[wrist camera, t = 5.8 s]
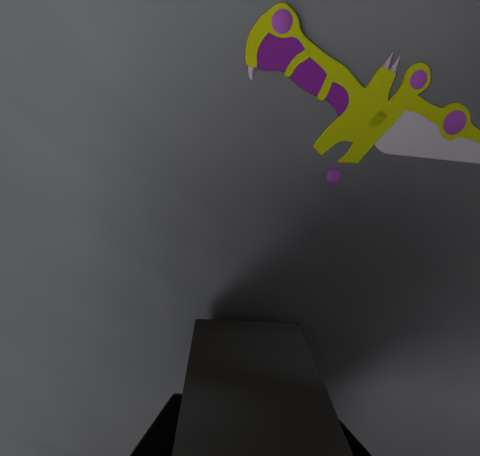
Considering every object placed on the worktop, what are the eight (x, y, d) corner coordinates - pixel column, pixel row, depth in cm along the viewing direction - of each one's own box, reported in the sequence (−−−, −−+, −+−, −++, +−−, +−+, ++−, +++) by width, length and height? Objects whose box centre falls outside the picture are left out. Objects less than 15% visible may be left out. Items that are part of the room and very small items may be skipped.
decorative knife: (548, 275, 9) (672, 122, 8) (565, 283, 9) (701, 122, 7) (212, 142, 8) (290, -86, 6) (211, 143, 7) (296, -106, 6)
